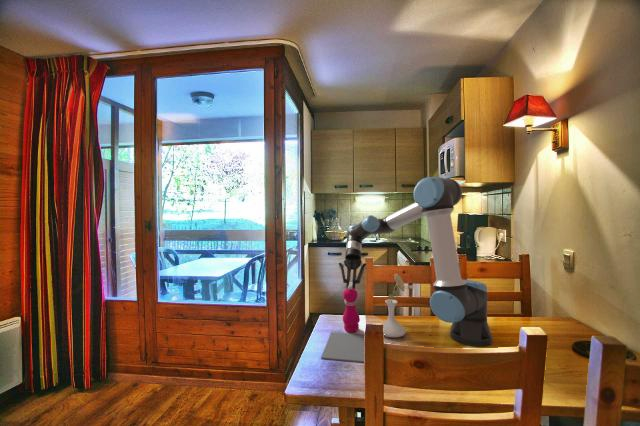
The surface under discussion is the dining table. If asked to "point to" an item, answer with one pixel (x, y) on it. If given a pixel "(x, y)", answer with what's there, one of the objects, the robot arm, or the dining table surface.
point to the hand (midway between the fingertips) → (350, 296)
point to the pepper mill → (350, 310)
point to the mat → (344, 347)
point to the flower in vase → (391, 324)
